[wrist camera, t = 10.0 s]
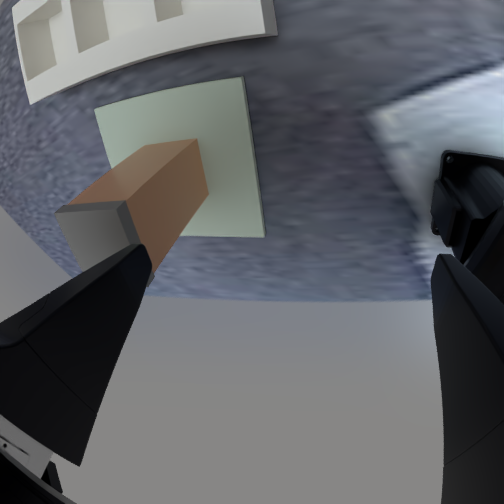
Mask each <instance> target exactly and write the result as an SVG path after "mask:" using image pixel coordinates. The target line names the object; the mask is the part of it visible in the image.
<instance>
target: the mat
mask: <svg viewBox="0 0 504 504" xmlns="http://www.w3.org/2000/svg"><path fill="white" fill-rule="evenodd" d="M94 111H95V114H96V118H97V122H98V125H99V129H100V132H101V136H102V139H103V143H104V146H105V149H106V153H107V156H108V159H109V162H110V165H111V168H114V167H115V166H116V165H118V164H119V163H120V162H122V161H123V160H124V159H126V158H127V157H129V156H130V155H131V154H133V153H134V152H136V151H137V150H138V149H140V148H141V147H143V146H144V145H150V144H157V143H164V142H171V141H179V140H187V139H195V138H197V141H198V146H199V150H200V155H201V160H202V164H203V169H204V174H205V178H206V183H207V187H208V192H209V195H208V196H207V198H206V199H205V200H204V202H203V203H202V205H201V206H200V207H199V209H198V210H197V212H196V213H195V214H194V216H193V217H192V219H191V220H190V221H189V223H188V224H187V226H186V227H185V228H184V230H183V231H182V233H181V234H180V236H221V237H265V234H266V231H265V223H264V216H263V208H262V201H261V193H260V186H259V179H258V172H257V164H256V157H255V150H254V143H253V136H252V129H251V122H250V115H249V109H248V102H247V95H246V88H245V82H244V76H243V77H235V78H227V79H220V80H214V81H207V82H201V83H196V84H190V85H185V86H180V87H175V88H170V89H165V90H161V91H157V92H152V93H148V94H144V95H140V96H136V97H132V98H129V99H125V100H121V101H118V102H114V103H111V104H108V105H104V106H101V107H98V108H96V109H94Z"/></svg>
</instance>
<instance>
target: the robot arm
mask: <svg viewBox="0 0 504 504" xmlns="http://www.w3.org/2000/svg"><path fill="white" fill-rule="evenodd" d="M448 156H451V160H449V161H447V157H448ZM431 214H432V217H433V218H432V223H431V230H432V232H433V234H434V235H441V238H442V240H443V243H444V244H445V246H446V247H451V248H452V251H453V253H454V256H455V257H454V256H453V255H451V254H439V255H438V256H437V258H436V261H435V265H434V269H433V272H432V276H431V291H432V303H433V318H434V331H435V339H436V346H437V352H438V361H439V370H440V379H441V391H442V406H443V424H444V425H443V426H444V467H443V485H442V499H441V504H504V158H500V157H494V156H488V155H481V154H474V153H467V152H459V151H451V150H447V151H445V152H444V153H443V154H442V158H441V166H440V174H439V179H437V180H436V181H435V186H434V193H433V200H432V206H431ZM436 227H437V228H438V229H435V228H436ZM151 271H152V262H151V259H150V257H149V254H148V252H147V249H146V247H145V245H144V244H141V243H133V244H130V245H129V246H127V247H125V248H123V249H122V250H120V251H118V252H116V253H115V254H113V255H111V256H109V257H108V258H106V259H104V260H103V261H101V262H99V263H98V264H96V265H94V266H92V267H91V268H89V269H87V270H86V271H84V272H82V273H81V274H79V275H78V276H76V277H74V278H73V279H71V280H69V281H68V282H66V283H64V284H63V285H62V286H60V287H58V288H56V289H55V290H53V291H52V292H51V293H50V294H47V295H45V296H44V297H42V298H41V299H39V300H37V301H36V302H34V303H33V304H31V305H30V306H28V307H26V308H24V309H23V310H21V311H19V312H18V313H16V314H14V315H13V316H11V317H9V318H8V319H6V320H4V321H3V322H1V323H0V504H76V503H75V502H73V501H72V500H70V499H68V498H67V497H65V496H64V495H62V492H63V491H62V488H61V484H60V481H59V477H58V473H57V469H56V465H55V463H53V462H52V461H50V458H51V456H52V454H53V452H54V453H56V454H58V455H60V456H61V457H63V458H64V459H66V460H68V461H70V462H71V463H73V464H75V465H77V466H80V465H81V462H82V459H83V456H84V453H85V449H86V447H87V443H88V440H89V437H90V434H91V431H92V428H93V425H94V422H95V419H96V417H97V413H98V410H99V407H100V405H101V402H102V399H103V397H104V394H105V391H106V388H107V386H108V383H109V380H110V378H111V375H112V372H113V370H114V368H115V365H116V362H117V360H118V357H119V355H120V352H121V350H122V348H123V345H124V343H125V340H126V338H127V335H128V333H129V331H130V328H131V326H132V324H133V321H134V319H135V317H136V314H137V312H138V309H139V307H140V304H141V301H142V298H143V295H144V292H145V289H146V286H147V283H148V280H149V277H150V274H151Z"/></svg>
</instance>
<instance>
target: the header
mask: <svg viewBox="0 0 504 504" xmlns="http://www.w3.org/2000/svg"><path fill="white" fill-rule="evenodd" d="M12 12H13V21H14V28H15V35H16V41H17V47H18V53H19V58H20V63H21V68H22V73H23V77H24V82H25V86H26V90H27V94H28V98H29V102H30V105H31V104H33V103H35V102H38V101H40V100H42V99H45V98H47V97H50V96H52V95H55V94H57V93H60V92H62V91H65V90H67V89H69V88H72V87H74V86H76V85H79V84H81V83H84V82H86V81H89V80H91V79H94V78H96V77H99V76H101V75H104V74H107V73H110V72H112V71H115V70H118V69H121V68H124V67H127V66H130V65H133V64H136V63H140V62H143V61H146V60H150V59H153V58H157V57H161V56H164V55H168V54H172V53H176V52H180V51H184V50H189V49H193V48H198V47H203V46H208V45H213V44H218V43H224V42H230V41H236V40H243V39H251V38H259V37H268V36H278V31H277V24H276V17H275V10H274V4H273V0H20V1H19V2H18V3H17V4H16V5H15V6H13V7H12Z"/></svg>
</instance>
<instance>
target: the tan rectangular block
mask: <svg viewBox="0 0 504 504" xmlns="http://www.w3.org/2000/svg"><path fill="white" fill-rule="evenodd" d="M208 195H209V192H208V187H207V183H206V178H205V174H204V169H203V164H202V160H201V155H200V150H199V146H198V141H197V138H195V139H187V140H179V141H171V142H164V143H157V144H150V145H144V146H143V147H141V148H140V149H138V150H137V151H136V152H134V153H133V154H131V155H130V156H129V157H127V158H126V159H124V160H123V161H122V162H120V163H119V164H118V165H116V166H115V167H114V168H112V169H111V170H110V171H108V172H107V173H106V174H104V175H103V176H102V177H100V178H99V179H98V180H97V181H95V182H94V183H93V184H92V185H90V186H89V187H88V188H87V189H85V190H84V191H83V192H82V193H81V194H79V195H78V196H77V197H76V198H75V199H73V200H72V201H71V202H70V203H69V204H68V205H63V206H62V207H61V208H59V209H58V210H57V211H56V212H55V213H54V214H55V217H56V219H57V221H58V223H59V226H60V228H61V230H62V232H63V234H64V236H65V238H66V240H67V242H68V244H69V246H70V248H71V251H72V252H73V254H74V256H75V258H76V260H77V262H78V264H79V266H80V268H81V270H82V272H84V271H86V270H87V269H89V268H91V267H92V266H94V265H96V264H98V263H99V262H101V261H103V260H104V259H106V258H108V257H109V256H111V255H113V254H115V253H116V252H118V251H120V250H122V249H123V248H125V247H127V246H129V245H130V244H133V243H141V244H144V245H145V247H146V249H147V252H148V254H149V257H150V259H151V262H152V271H151V274H150V277H149V280H148V283H147V286H146V287H149V285H150V283H151V282H152V280H153V279H154V277H155V276H154V272H155V271H156V269H157V268H158V266H159V265H160V263H161V262H162V260H163V259H164V257H165V256H166V255H167V253H168V252H169V250H170V249H171V247H172V246H173V244H174V243H175V241H176V240H177V238H178V237H179V236H180V234H181V233H182V231H183V230H184V228H185V227H186V226H187V224H188V223H189V221H190V220H191V219H192V217H193V216H194V214H195V213H196V212H197V210H198V209H199V207H200V206H201V205H202V203H203V202H204V200H205V199H206V198H207V196H208Z"/></svg>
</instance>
